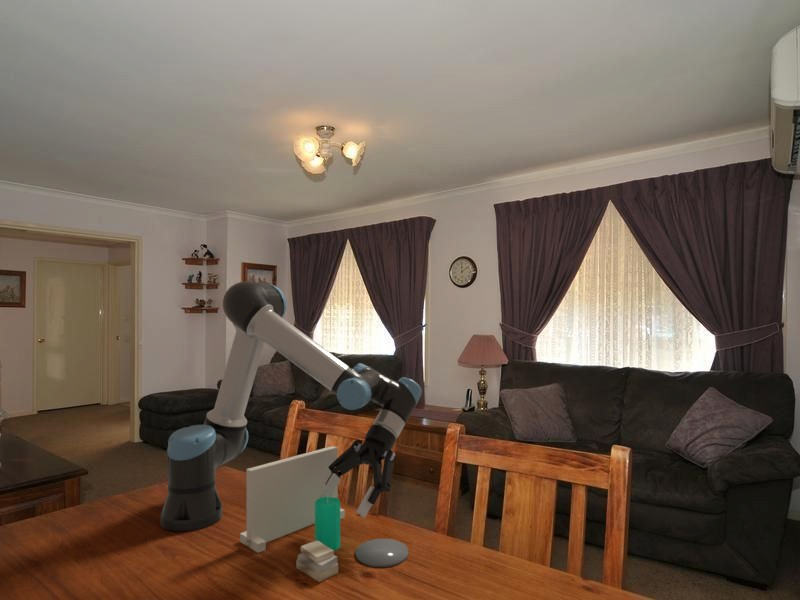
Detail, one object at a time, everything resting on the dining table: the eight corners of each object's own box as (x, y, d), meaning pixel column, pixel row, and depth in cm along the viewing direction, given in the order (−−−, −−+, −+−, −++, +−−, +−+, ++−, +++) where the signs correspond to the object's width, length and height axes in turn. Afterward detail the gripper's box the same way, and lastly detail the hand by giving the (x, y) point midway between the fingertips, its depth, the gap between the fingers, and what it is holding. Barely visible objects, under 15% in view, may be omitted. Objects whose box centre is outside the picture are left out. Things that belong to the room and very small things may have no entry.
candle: (335, 553, 116) (335, 500, 116) (311, 550, 118) (310, 498, 118) (344, 541, 122) (343, 490, 122) (320, 538, 123) (320, 489, 123)
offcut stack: (294, 568, 110) (294, 547, 110) (315, 559, 114) (315, 539, 114) (318, 583, 104) (318, 561, 104) (339, 572, 108) (339, 551, 108)
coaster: (344, 554, 116) (344, 551, 116) (382, 536, 125) (382, 533, 125) (381, 573, 108) (381, 570, 108) (419, 552, 116) (419, 550, 116)
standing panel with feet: (240, 541, 122) (239, 466, 122) (325, 509, 141) (325, 443, 141) (258, 552, 117) (257, 473, 117) (344, 517, 136) (344, 449, 136)
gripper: (428, 448, 126) (386, 530, 115) (359, 431, 143) (317, 501, 132) (413, 431, 122) (369, 513, 111) (344, 416, 139) (300, 486, 128)
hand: (340, 507), depth 122 cm, fingers open, 13 cm apart
